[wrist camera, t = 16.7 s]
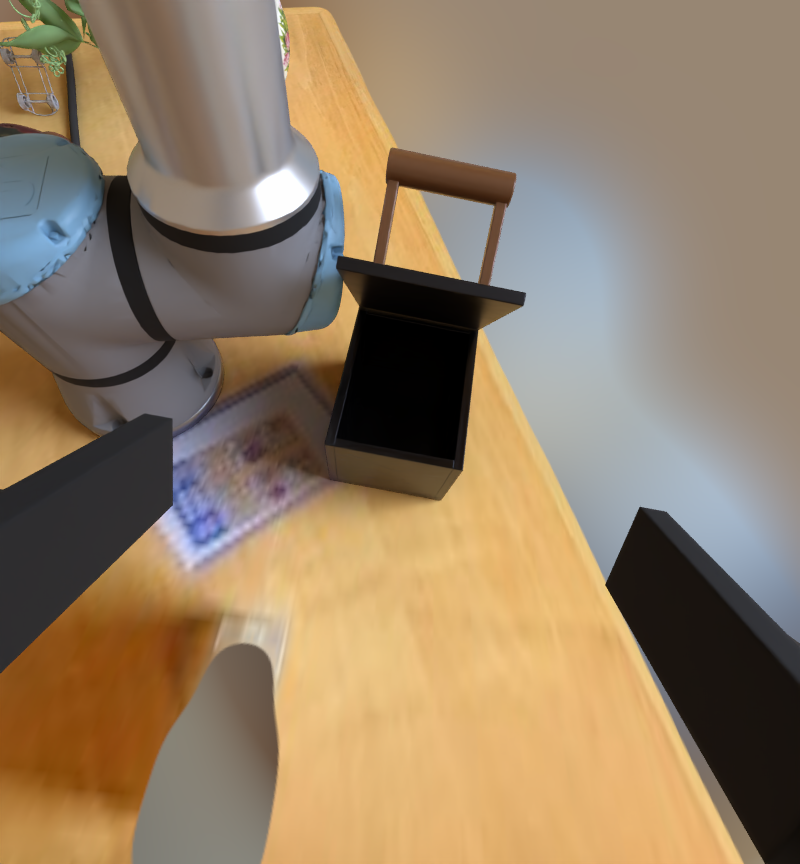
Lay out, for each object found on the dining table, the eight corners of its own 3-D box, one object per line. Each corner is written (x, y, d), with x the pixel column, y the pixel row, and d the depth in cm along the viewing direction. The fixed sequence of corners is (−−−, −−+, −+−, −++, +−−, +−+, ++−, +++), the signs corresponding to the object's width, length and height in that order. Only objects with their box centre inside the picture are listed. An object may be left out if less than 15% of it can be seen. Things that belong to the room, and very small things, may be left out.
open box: (441, 500, 45) (462, 470, 36) (329, 479, 45) (324, 444, 36) (456, 379, 51) (478, 328, 42) (358, 360, 51) (359, 305, 42)
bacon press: (523, 306, 27) (556, 161, 26) (335, 268, 26) (359, 120, 25) (478, 329, 42) (497, 240, 41) (358, 306, 42) (374, 215, 41)
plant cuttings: (-44, 124, 69) (-176, 104, 50) (-109, -28, 60) (-299, -123, 41) (193, 124, 74) (156, 105, 55) (164, -16, 66) (108, -96, 47)
